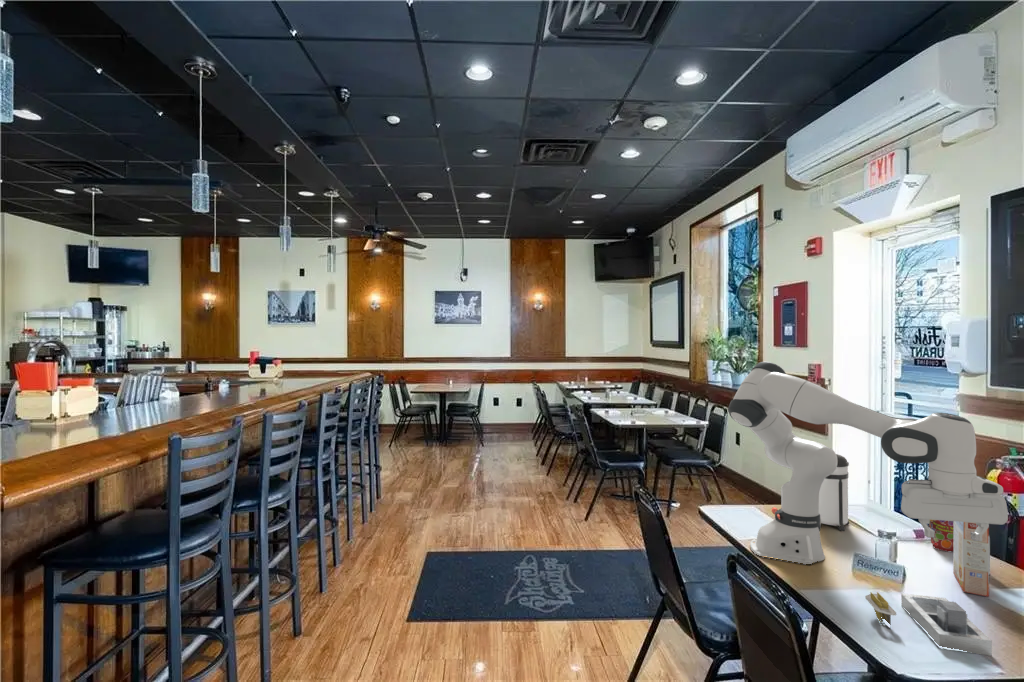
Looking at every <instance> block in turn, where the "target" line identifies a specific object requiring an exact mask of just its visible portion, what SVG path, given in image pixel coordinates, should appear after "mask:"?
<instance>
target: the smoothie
mask: <svg viewBox="0 0 1024 682" xmlns="http://www.w3.org/2000/svg"><path fill="white" fill-rule="evenodd" d="M928 526H929V528H931V529H933V530H934V531H935V534H934V535H935V538H930V543H931V544H932V547H933V548H934V549H936V550H938V549H939V551H942V552H948V551H951V552H954V525H953V521H944V520H930V519H929V525H928Z"/></svg>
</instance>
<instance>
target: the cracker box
mask: <svg viewBox="0 0 1024 682" xmlns="http://www.w3.org/2000/svg"><path fill="white" fill-rule="evenodd" d="M953 525H954V551H953V557H952V558H953V559H952V561H953V565H952V566H953V568H952V570H953V572H952V573H953V575H954V577H955V579H956V581H957V583H958V585H959V587H960V588H961V590H962V592H963V593H968V594H973V595H976V596H977V595H978V596H983V597H987V598H988V597H989V596H990V595H989V593H990V586H989V585H990V582H989V581H990V578H989V577H990V576H989V536H990V524H988V529H987V530H986V531H985V533H984V534H983V535H982V542H980V541H973V540H972V539H971V532H975V530H976V528H977V527H978V525H977V524H976V523H972V522H958V521H953Z"/></svg>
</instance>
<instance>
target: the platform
mask: <svg viewBox="0 0 1024 682" xmlns="http://www.w3.org/2000/svg"><path fill="white" fill-rule="evenodd" d="M864 597H865V600H866V601H867V602H868V604H870V605H871V606H872V608H873V610H874V612H876V613H875V615H876V619H877V618H878V619H879V621H880V620H881V619H885V620H886V621H887V622H888V623H889V624H890V625H892V624H891V616H897V612H896V611H895V610H894V609H893V608H892V606H891V605H889V604H890V603H889V602H888V601H887V599H885V598H884V597H883V596H882V595H881V594H880V593H879V591H877V592H876V593H873V592H872V591H870V594H869V593H868V594H867V595H865V596H864ZM881 617H882V618H881ZM878 619H877V620H878ZM880 622H881V621H880Z"/></svg>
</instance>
